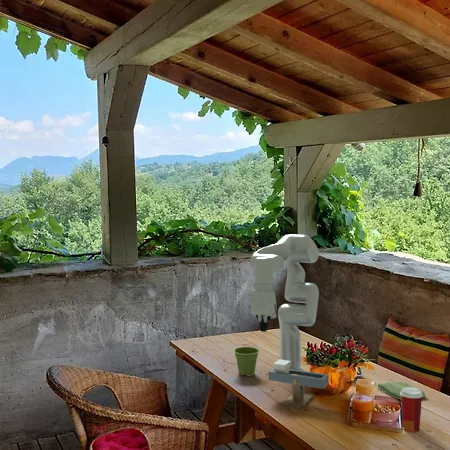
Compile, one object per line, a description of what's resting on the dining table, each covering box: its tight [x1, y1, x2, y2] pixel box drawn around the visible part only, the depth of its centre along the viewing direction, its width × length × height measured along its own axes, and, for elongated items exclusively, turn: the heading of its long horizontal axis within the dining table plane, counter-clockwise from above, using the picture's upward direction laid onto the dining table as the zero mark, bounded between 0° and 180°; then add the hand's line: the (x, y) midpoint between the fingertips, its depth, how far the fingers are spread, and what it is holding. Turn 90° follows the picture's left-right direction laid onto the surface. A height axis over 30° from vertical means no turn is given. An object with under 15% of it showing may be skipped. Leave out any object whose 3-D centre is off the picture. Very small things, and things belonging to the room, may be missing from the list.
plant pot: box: [233, 346, 260, 376], centre depth 266 cm, size 12×12×11 cm
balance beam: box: [268, 367, 330, 409], centre depth 232 cm, size 23×12×12 cm, turn 62°
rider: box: [272, 358, 291, 373], centre depth 235 cm, size 5×6×5 cm
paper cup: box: [400, 387, 423, 433], centre depth 204 cm, size 8×8×14 cm
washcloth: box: [377, 381, 426, 400], centre depth 240 cm, size 13×18×3 cm
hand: (264, 330), depth 238 cm, fingers closed
